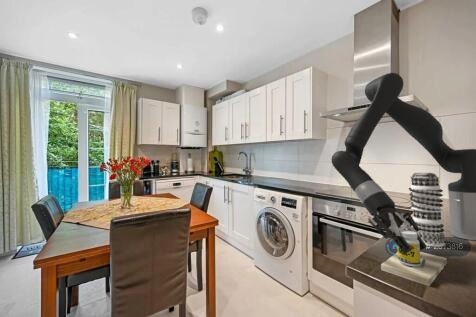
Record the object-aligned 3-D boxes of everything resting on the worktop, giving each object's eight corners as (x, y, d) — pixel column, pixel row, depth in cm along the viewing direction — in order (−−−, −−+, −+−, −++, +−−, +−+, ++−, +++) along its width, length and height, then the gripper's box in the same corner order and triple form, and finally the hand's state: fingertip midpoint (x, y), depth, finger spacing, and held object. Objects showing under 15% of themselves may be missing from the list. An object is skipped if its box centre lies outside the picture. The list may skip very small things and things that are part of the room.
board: (404, 252, 68) (403, 247, 68) (446, 263, 60) (446, 257, 60) (381, 270, 57) (380, 264, 58) (429, 286, 49) (429, 279, 49)
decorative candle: (440, 249, 69) (435, 173, 70) (407, 240, 78) (403, 173, 78) (451, 243, 74) (446, 172, 75) (418, 236, 82) (414, 172, 83)
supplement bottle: (395, 262, 58) (394, 231, 58) (401, 257, 61) (399, 227, 61) (417, 268, 54) (416, 235, 54) (422, 263, 57) (421, 231, 57)
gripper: (362, 192, 63) (405, 247, 51) (398, 189, 67) (446, 240, 55) (349, 206, 68) (386, 260, 56) (383, 203, 72) (424, 252, 60)
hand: (415, 249), depth 56 cm, fingers closed on supplement bottle, 4 cm apart
